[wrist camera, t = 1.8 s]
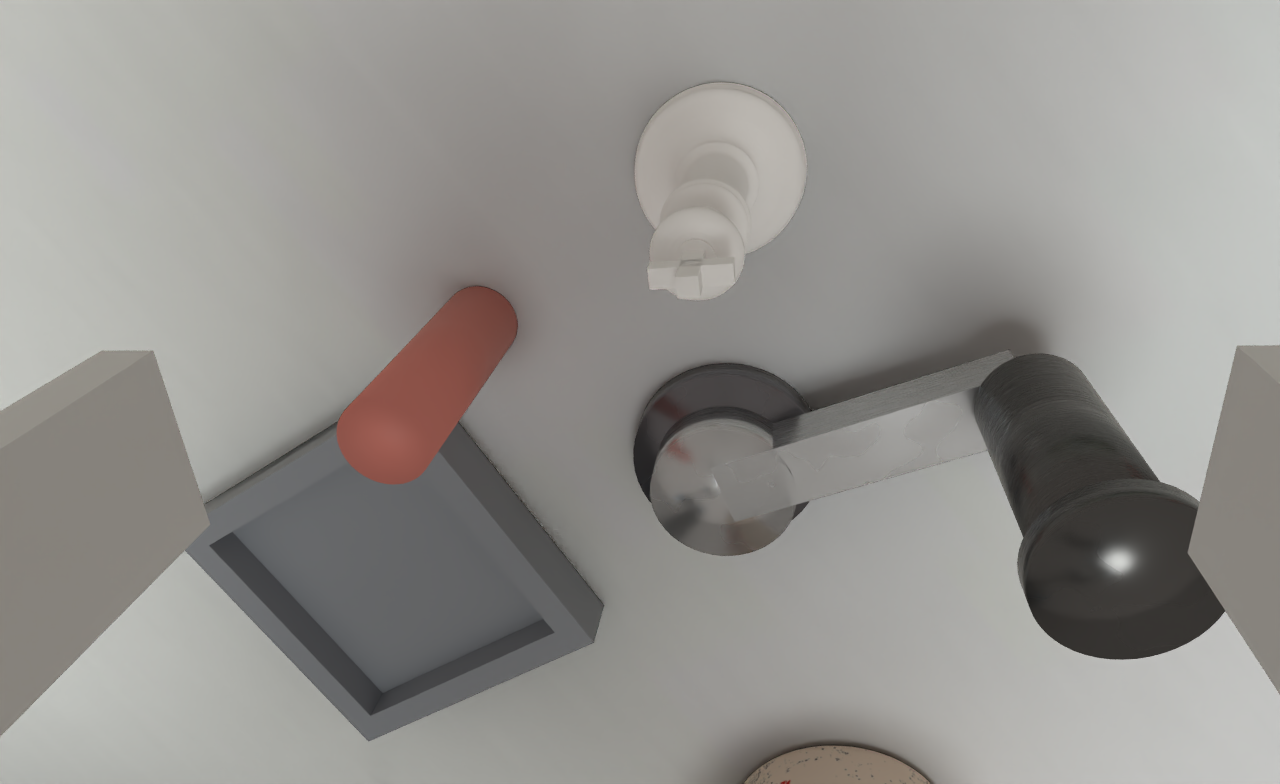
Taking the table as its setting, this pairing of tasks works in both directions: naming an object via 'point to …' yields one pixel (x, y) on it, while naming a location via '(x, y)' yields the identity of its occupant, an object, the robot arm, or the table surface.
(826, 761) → the teacup with lid
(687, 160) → the chess piece
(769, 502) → the crank arm
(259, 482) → the tray
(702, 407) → the crank base
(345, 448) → the post
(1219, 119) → the table surface
